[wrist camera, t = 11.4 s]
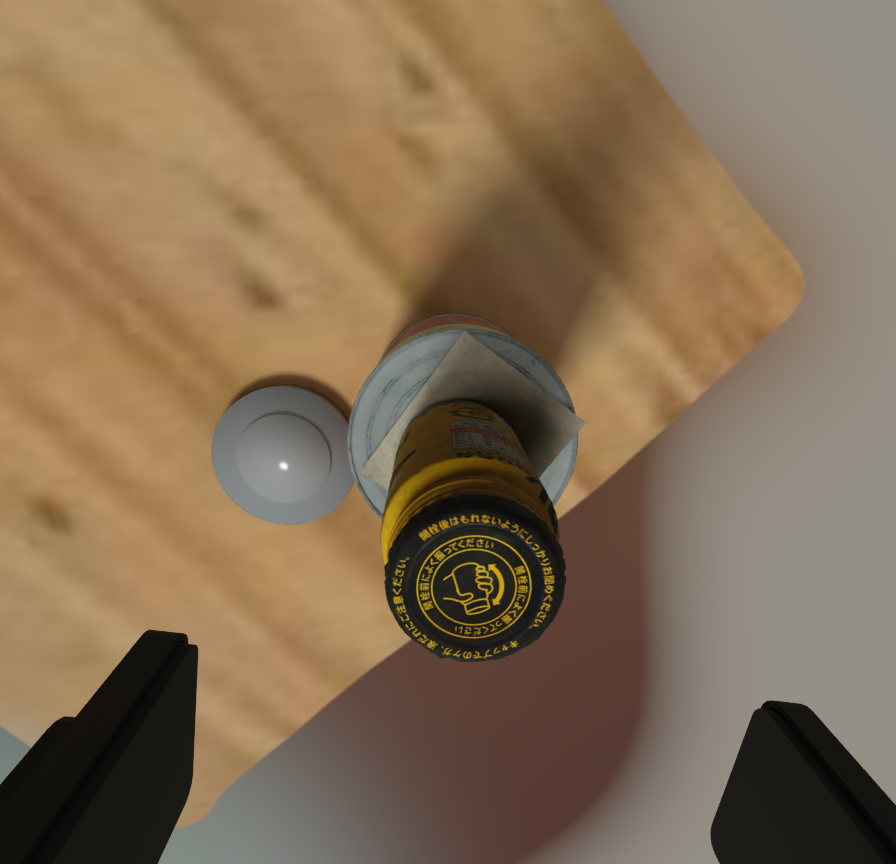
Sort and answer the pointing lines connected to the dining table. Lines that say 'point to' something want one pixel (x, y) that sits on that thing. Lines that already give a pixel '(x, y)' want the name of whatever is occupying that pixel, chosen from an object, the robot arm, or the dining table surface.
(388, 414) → the canned food
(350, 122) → the dining table surface
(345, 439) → the saucer
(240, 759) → the dining table surface
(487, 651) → the condiment
